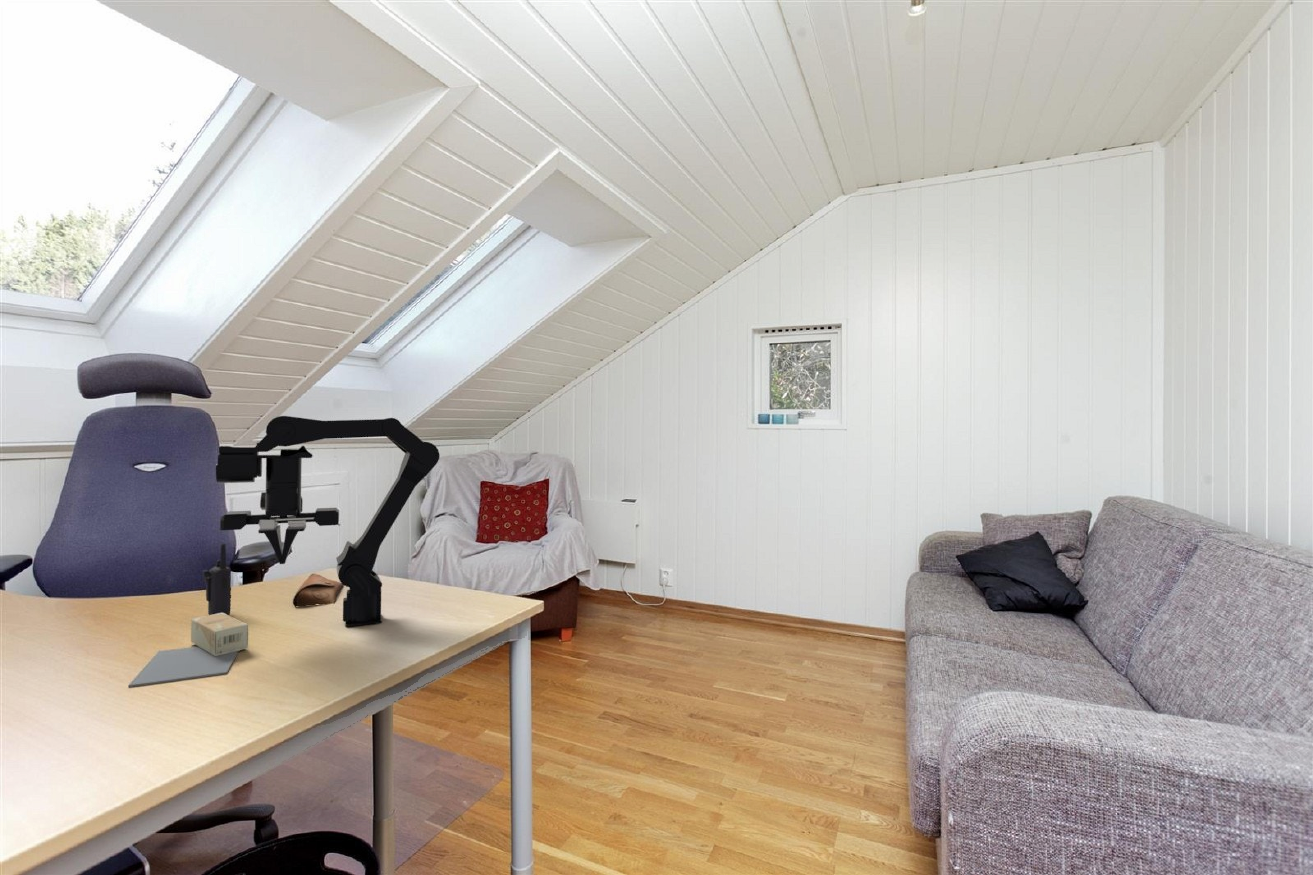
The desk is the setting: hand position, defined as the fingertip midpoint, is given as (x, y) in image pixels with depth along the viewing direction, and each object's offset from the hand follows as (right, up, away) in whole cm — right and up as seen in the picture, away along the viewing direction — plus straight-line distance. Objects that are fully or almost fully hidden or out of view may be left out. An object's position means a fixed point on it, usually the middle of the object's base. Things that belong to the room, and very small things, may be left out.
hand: (282, 563), depth 112 cm
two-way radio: (-19, -13, +8) cm, 24 cm away
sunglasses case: (-7, -13, +25) cm, 29 cm away
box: (-1, -11, -12) cm, 16 cm away
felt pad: (-5, -13, -15) cm, 21 cm away
